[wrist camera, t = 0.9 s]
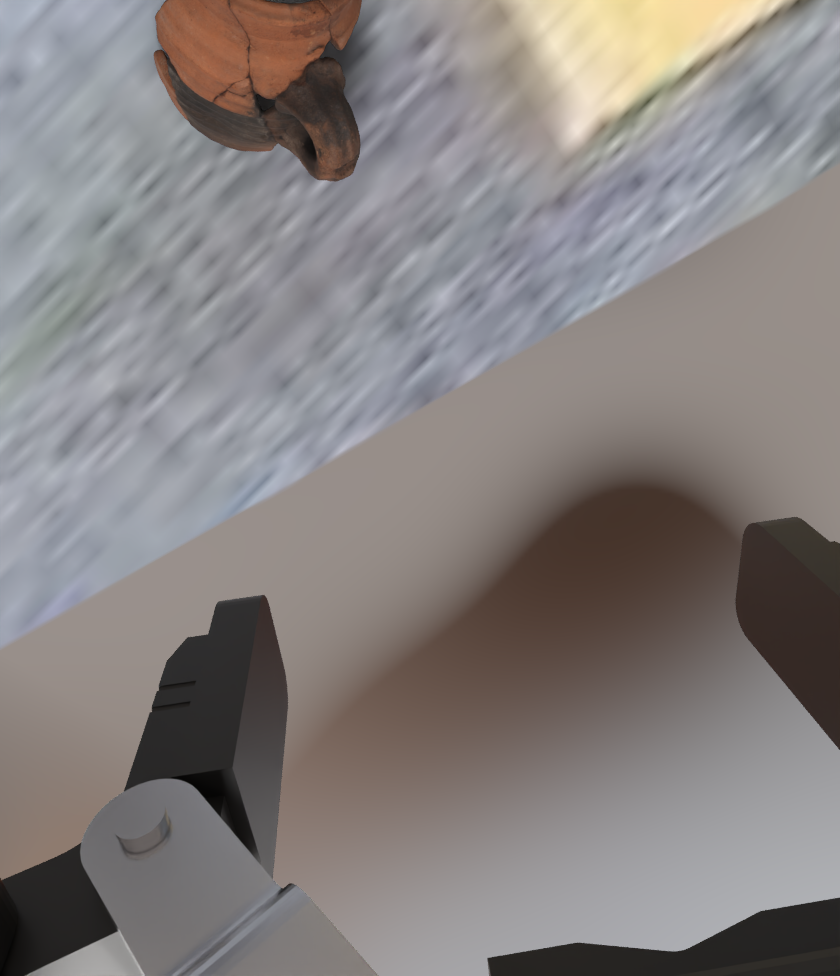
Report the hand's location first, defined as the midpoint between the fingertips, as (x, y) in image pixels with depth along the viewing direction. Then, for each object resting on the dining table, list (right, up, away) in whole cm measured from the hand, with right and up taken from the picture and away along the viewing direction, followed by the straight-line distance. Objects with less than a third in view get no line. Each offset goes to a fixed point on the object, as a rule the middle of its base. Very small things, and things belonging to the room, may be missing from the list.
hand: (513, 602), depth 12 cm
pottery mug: (-8, +22, +21) cm, 31 cm away
